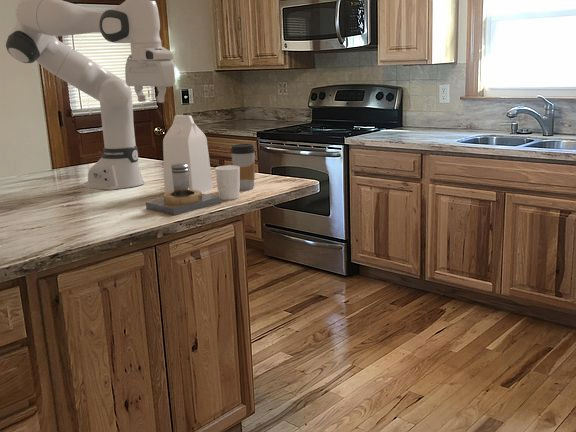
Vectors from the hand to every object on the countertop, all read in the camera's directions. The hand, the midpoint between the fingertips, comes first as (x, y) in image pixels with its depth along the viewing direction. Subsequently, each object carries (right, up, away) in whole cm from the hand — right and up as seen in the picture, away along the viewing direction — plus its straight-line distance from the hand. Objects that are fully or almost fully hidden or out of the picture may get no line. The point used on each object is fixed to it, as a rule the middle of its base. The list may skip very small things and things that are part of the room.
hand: (151, 102), depth 183 cm
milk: (+6, -25, +30) cm, 40 cm away
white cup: (+21, -28, +19) cm, 40 cm away
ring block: (+8, -31, +10) cm, 33 cm away
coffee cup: (+26, -24, +31) cm, 47 cm away
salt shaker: (+8, -29, +9) cm, 31 cm away
